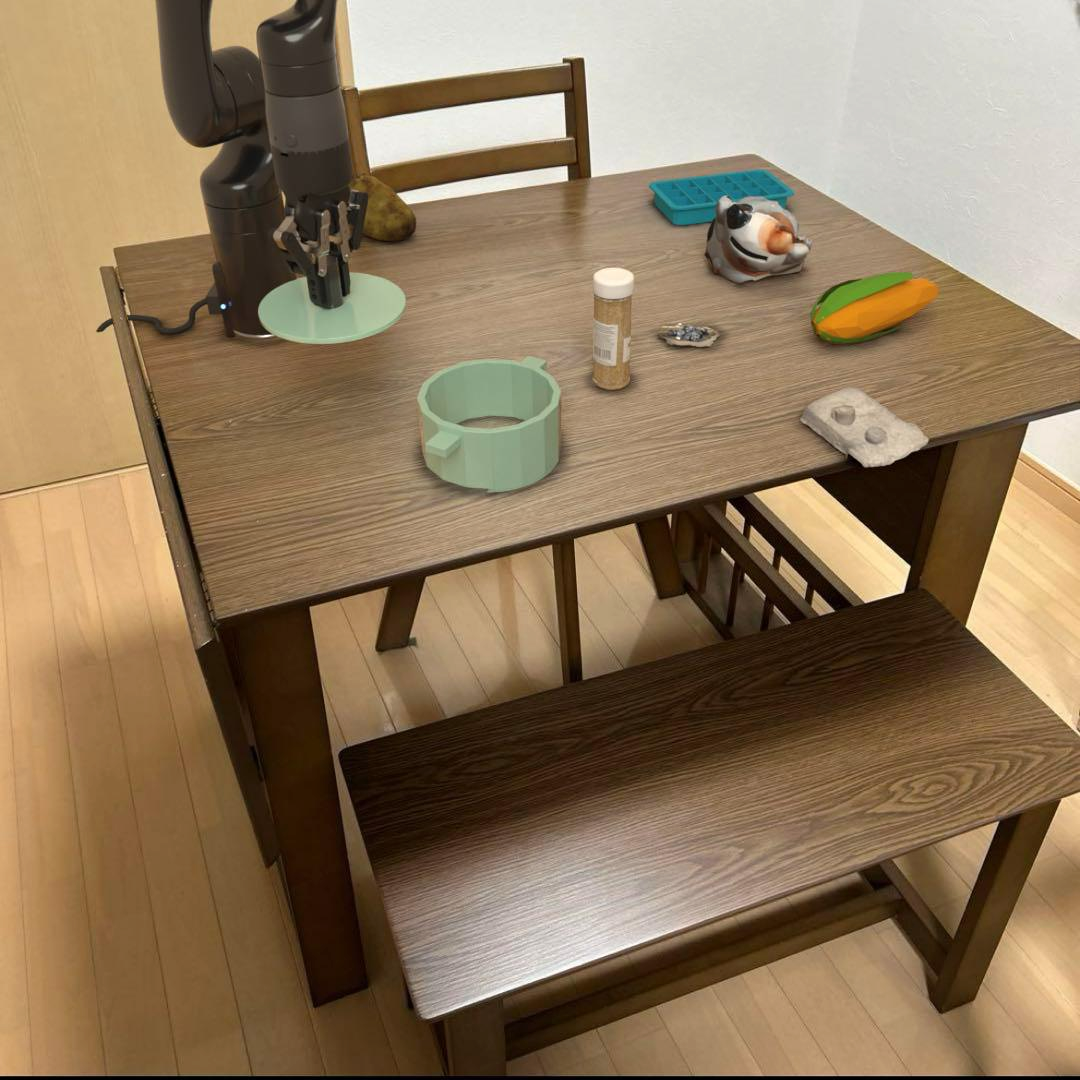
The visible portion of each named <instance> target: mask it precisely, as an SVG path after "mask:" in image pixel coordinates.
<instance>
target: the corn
mask: <svg viewBox="0 0 1080 1080" xmlns="http://www.w3.org/2000/svg"><path fill="white" fill-rule="evenodd" d="M913 277H914V273H913V272H909V271H908V272H907V271H905V272H903V271H901V272H900V271H899V272H898V271H897V272H885V273H881V274H876V275H872V276H867V277H865V278H857V279H848V280H846V281H843V282H841V283H838V284H835V285H833V286H830V287H829V288H828V289H826V291H824V292H823V293H822V294H820V296H819V297H818V298H817V300H816V301H815V303H814V304H813V306H812V308H811V310H810V314H809V316H810V324H811V327H812V331H813V334H814V335H815V336H817V337H819V338H820V339H821V340H822V341H825V342H827V343H829V344H833V345H834V344H853V343H860V342H865V341H869V340H872V339H876V338H878V337H881V336H885V335H888V334H890V333H892V332H894V331H896V330H898V329H901V328H904V327H906V326H907V325H908V323H904V324H902V325H900V326H896V325H898V324H900V323H902V322H904V321H905V320H907V319H908V318H911V317H912V316H914V315H915V314H917V313H918V312H919V311H921V310H922V309H923V308H925V307H926V306H928V305H929V304H930V303H932V302H933V301H935V300H936V299H937V298H938V295H939V289H940V286H939V285H937V284H936V283H934V282H932V281H931V280H929V279H927V278H924V277H923V278H913ZM818 305H819V306H818ZM817 306H818V307H817ZM895 326H896V327H895ZM882 331H883V332H882Z"/></svg>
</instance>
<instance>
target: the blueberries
mask: <svg viewBox="0 0 1080 1080" xmlns="http://www.w3.org/2000/svg"><path fill="white" fill-rule="evenodd" d="M656 335H659V336H660V338H662V339H665V340H666V341H665V342H666V344H669V345H670V346H673V345H676V346H691V347H697V348H702V347H711V346H712V345H713V344H715V342H714V341H716V340H717V339H718V338H719V337H720V333H719V331H717V330H715V329H713V328H710V327H708V326H698V325H694V326H692V325H691V324H685V325H684V324H682V323H681V322H678V324H676V323H675V324H671V323H669V324H664V325H662V326H660V328H659V329H658V331H657V332H656Z"/></svg>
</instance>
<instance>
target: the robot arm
mask: <svg viewBox="0 0 1080 1080" xmlns="http://www.w3.org/2000/svg"><path fill="white" fill-rule="evenodd" d="M154 1H155V13H156V24H157V25H156V26H157V37H158V38H157V39H158V49H159V50H158V51H159V63H160V73H161V83H162V90H163V95H164V100H165V105H166V108H167V111H168V115H169V118H170V120H171V122H172V124H173V126H174V129H175V130H176V131H177V133H178V134H179V136H180V137H181V138H182V139H183V140H184V142H186V143H187V144H188V145H190V146H192V147H195V148H199V149H206V148H211V147H215V146H218V145H221V148H220V149H219V152H218V153H217V155H216V156H215V157H214V158H213V159H212V161H211V162H210V163H209V164H208V165H207V166H206V167H205V168H204V169H203V170H202V172H201V174H200V176H199V187H200V192H201V197H202V201H203V206H204V211H205V215H206V220H207V224H208V229H209V233H210V238H211V242H212V247H213V252H214V258H215V260H214V262H212V265H211V270H212V276H213V280H214V283H212V285H211V287H210V289H209V290H208V291H207V293H206V295H205V297H204V298H203V299H201V300H199V301H196V303H194V304H193V305H192V306H191V308H190V309H189V313H188V320H187V322H185V323H184V324H182V325H180V326H178V327H177V326H176V327H169V328H168V327H167V328H166V327H163V326H162V322H161V320H160V319H159V318H157V317H155V316H149V315H142V314H126V315H127V317H128V320H129V321H130V322H145V323H152V324H154V326H155V329H156V331H157V332H158V333H159V334H162V335H177V334H181V333H184V332H186V331H187V330H189V329H190V328H192V327H193V325H194V324H195V321H196V313H197V312H198V310H199V309H201V308H202V307H204V306H206V305H207V309H208V314H209V315H210V316H217V315H218V316H221V317H222V322H223V325H224V329H225V330H224V331H225V335H226V337H234V338H235V337H238V338H241V339H245V340H252V341H264V340H266V341H267V340H273V339H274V340H275V339H277V338H279V337H278V336H276V335H274V334H272V333H270V332H269V331H267V330H266V329H265V328H264V327H263V326H262V324H261V322H260V319H259V315H258V308H259V305H260V303H261V301H262V300H263V298H264V297H265V296H266V295H267V294H269V293H270V292H271V291H272V290H274V289H276V288H277V287H279V286H281V285H283V284H285V283H288V282H290V281H293V280H296V279H297V274H298V275H300V276H304V277H307V284H308V289H309V297H310V300H311V302H313V304H314V305H316V306H319V307H323V308H328V307H330V306H331V305H332V296H331V289H330V281H329V274H327V261H326V255H332V256H336V257H337V258H338V263H339V270H340V278H341V286H342V293H343V297H345V296H347V295H349V294H350V284H351V282H350V274H349V272H350V266H349V262H350V260H351V257H352V252H353V251H359V249H360V248H361V244H362V238H363V234H364V233H363V228H364V222H365V216H366V210H367V205H368V199H369V196H368V194H367V193H366V192H362V191H357V190H353V189H350V187H349V184H350V183H351V181H352V179H353V176H354V172H353V164H352V155H351V146H350V138H349V130H348V120H347V113H346V107H345V101H344V99H343V95H342V94H343V93H342V90H341V84H340V77H339V68H338V59H337V49H336V24H337V22H336V21H337V11H338V0H295V2H294V3H293V5H291V6H290V7H288V8H287V9H285V10H284V11H282V12H280V13H277V14H274V15H272V16H270V17H268V18H265V19H264V20H263V21H261V22H260V23H259V24H258V26H257V28H256V31H255V33H256V34H255V37H256V38H255V40H256V48H257V54H258V55H257V54H256V53H254V52H253V51H252V50H251V49H249V48H247V47H245V46H242V45H229V46H226V47H222V48H217V49H214V50H213V49H212V47H213V46H212V37H211V36H212V35H211V17H212V9H213V3H214V0H154ZM283 195H284V196H283ZM284 199H285V201H284ZM350 225H352V230H351V231H350V228H349V226H350ZM312 255H314V261H313V256H312ZM112 318H113V317H111V318H108V319H107V320H105V321H103V322H102V323H101V324H100V325H99V326H98V327H97V328H96V331H95V332H96V333H102V332H105V330H106V329H107V328H109V327H111V326H112V325H114V324H115V323H113V319H112ZM129 321H128V322H129Z"/></svg>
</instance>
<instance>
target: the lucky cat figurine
mask: <svg viewBox="0 0 1080 1080" xmlns="http://www.w3.org/2000/svg"><path fill="white" fill-rule="evenodd" d="M715 212H716V217H715V218H714V219H713V220H712V221H711V223H710V225H709V227H708V230H707V234H706V246H705V247H706V248H705V252H704V254H703V256H704V257H705V258H706V259H707V260H708V261H709V264H710V265H711V269H712V273H714V274H716V275H719V276H721V277H723V278H725V279H727V280H730V281H732V282H733V283H736V284H743V283H745V282H747V281H752V280H753V281H758V280H760V279H763V278H766V277H772V276H779V275H788V274H792V273H800V272H801V271H802V270H803V269H804V263H805V259H806V258H807V255H808V254H809V253H810V251H811V249H812V245H813V240H812V239H811V240H810V239H809V238H808V236H807V235H801V234H799V229H800V228H799V226H800V224H799V222H798V220H797V218H796V217H795V216H794V214H793V213H792V212H790V211H789V210H788V209H787V208H785V209H783V208H782V207H781V206H780V203H779V202H777V201H770V200H768V199H766V198H764V197H759V196H748V197H744V198H741V199H740V200H738V201H737V202H734V201H732V200H731V199H730V197H729V196H728V195H725V196H723V197H721V198H720V199H718V201H717V205H716V208H715Z"/></svg>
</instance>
